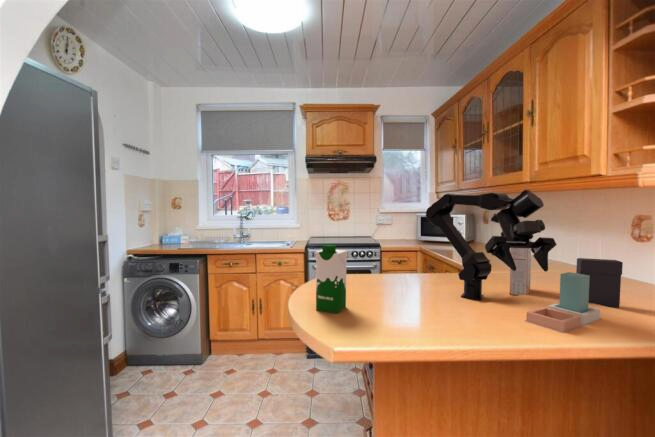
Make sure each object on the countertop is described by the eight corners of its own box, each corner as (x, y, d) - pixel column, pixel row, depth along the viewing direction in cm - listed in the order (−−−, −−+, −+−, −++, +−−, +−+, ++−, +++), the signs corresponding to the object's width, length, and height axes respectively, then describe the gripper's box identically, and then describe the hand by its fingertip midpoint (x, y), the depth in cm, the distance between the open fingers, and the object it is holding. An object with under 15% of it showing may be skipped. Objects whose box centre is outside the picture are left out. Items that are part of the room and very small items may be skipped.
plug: (558, 315, 93) (560, 273, 92) (567, 312, 95) (569, 272, 95) (579, 320, 89) (581, 277, 88) (587, 317, 91) (589, 275, 91)
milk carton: (312, 310, 98) (312, 245, 97) (324, 302, 106) (325, 242, 105) (338, 315, 94) (339, 247, 94) (349, 306, 103) (350, 243, 102)
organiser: (523, 324, 88) (524, 311, 88) (562, 312, 99) (563, 300, 99) (563, 337, 80) (564, 323, 80) (601, 322, 90) (602, 309, 90)
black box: (613, 304, 107) (615, 259, 106) (620, 308, 103) (623, 261, 102) (573, 301, 110) (575, 257, 109) (579, 304, 106) (581, 259, 105)
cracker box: (512, 286, 129) (514, 234, 128) (530, 289, 125) (532, 235, 124) (508, 294, 118) (510, 237, 117) (527, 297, 114) (529, 238, 113)
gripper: (494, 208, 94) (513, 254, 84) (556, 210, 95) (582, 256, 85) (477, 230, 103) (493, 274, 93) (534, 232, 104) (555, 276, 94)
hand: (530, 270), depth 91 cm, fingers open, 9 cm apart
